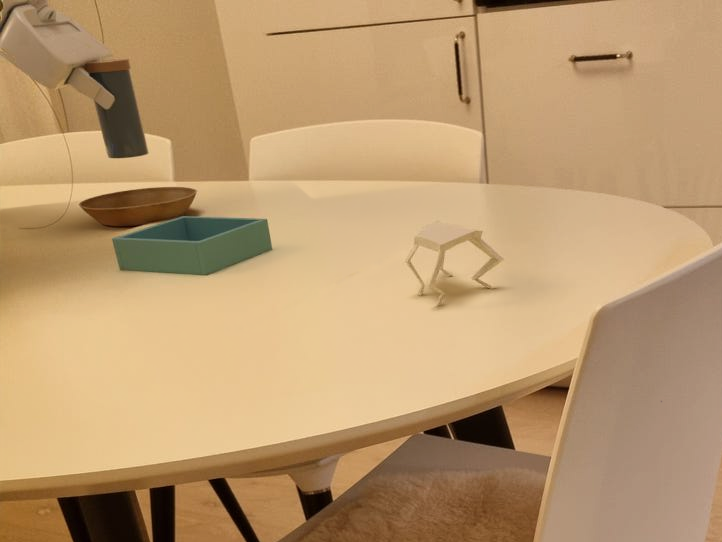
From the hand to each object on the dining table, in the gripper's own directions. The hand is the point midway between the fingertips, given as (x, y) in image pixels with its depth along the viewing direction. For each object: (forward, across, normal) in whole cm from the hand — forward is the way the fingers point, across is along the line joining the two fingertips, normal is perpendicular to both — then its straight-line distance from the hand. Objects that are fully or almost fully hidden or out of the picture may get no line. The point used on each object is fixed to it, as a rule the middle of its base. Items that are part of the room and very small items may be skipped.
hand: (120, 101), depth 116 cm
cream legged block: (+37, +46, +18) cm, 62 cm away
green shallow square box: (+18, +29, 0) cm, 35 cm away
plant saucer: (+9, 0, -10) cm, 14 cm away
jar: (+4, 0, -5) cm, 6 cm away
